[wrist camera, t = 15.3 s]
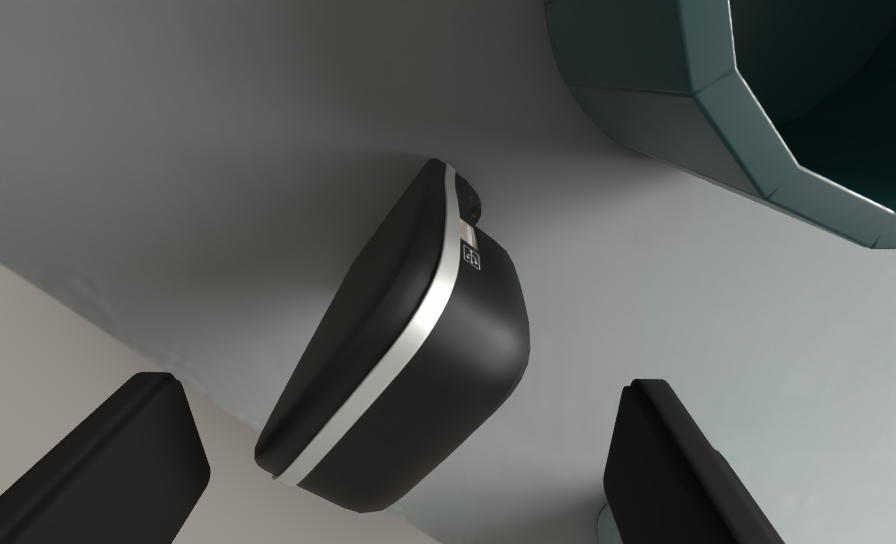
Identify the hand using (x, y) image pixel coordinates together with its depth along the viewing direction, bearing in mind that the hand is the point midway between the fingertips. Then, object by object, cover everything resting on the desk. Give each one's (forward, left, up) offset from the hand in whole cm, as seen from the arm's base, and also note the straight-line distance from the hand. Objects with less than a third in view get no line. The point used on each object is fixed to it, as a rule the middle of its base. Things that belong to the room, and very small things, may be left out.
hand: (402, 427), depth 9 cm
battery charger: (0, 0, -11) cm, 11 cm away
